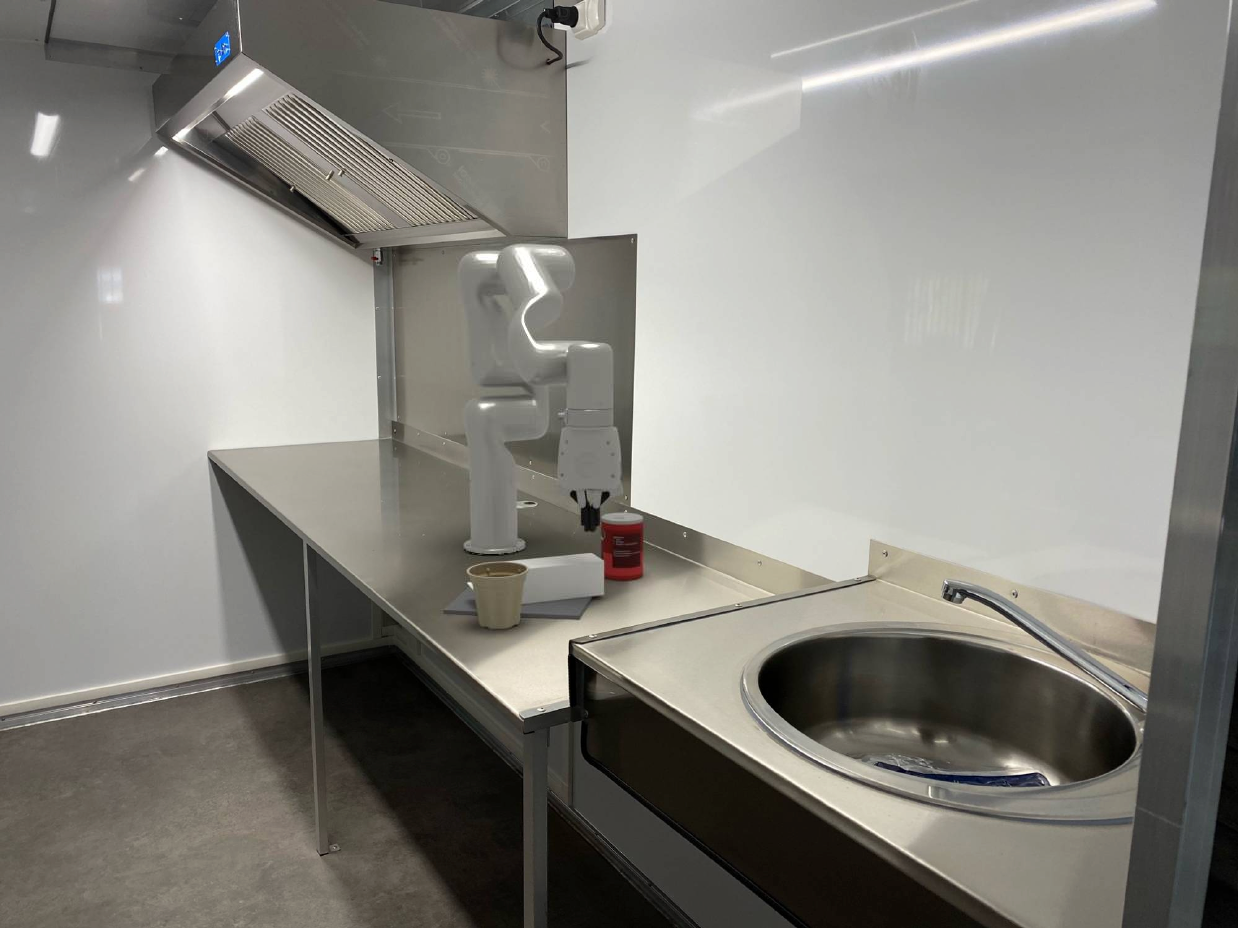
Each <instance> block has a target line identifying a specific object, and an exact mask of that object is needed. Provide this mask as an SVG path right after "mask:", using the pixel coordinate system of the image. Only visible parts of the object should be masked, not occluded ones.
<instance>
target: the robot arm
mask: <svg viewBox="0 0 1238 928" xmlns="http://www.w3.org/2000/svg"><path fill="white" fill-rule="evenodd" d="M459 261H460V262H459V264H458V269H457V277H456V281H457V287H458V293H459V297H460V300H461V303H462V307H463V309H464V313H465V319H466V326H467V328H466V329H467V330H466V331H467V352H468V353H467V355H468V356H467V357H468V370H469V377H470V380H471V381H472V383H473V385H475V387H479V388H485V389H504V388H505V389H506V388H507V389H508V388H509V389H510V388H519V390H520V393H517V394H507V393H506V394H504V393H503V394H486V395H485V394H484V395H480V396H475V397H473V398H471V399H469V400H468V401H467V402H466V404H465V406H464V408H463V411H462V417H463V418H462V420H463V426H464V431H465V432H464V433H465V436H466V437H465V438H466V444H467V451H468V452H467V453H468V468H469V469H468V471H469V472H468V474H469V505H470V506H469V507H470V508H469V509H470V539H468V540H467V541H464V543H463V549H464V548H465V549H466V550H469V551H474V552H476V553H484V554H499V555H505V554H504V553H508V554H512V553H513V552H514V553H517V552H516V551H518V552H520V551H522V550H524V549H526V542H525V540H523V539H522V538H518V493H517V492H518V490H517V489H518V488H517V486H518V484H517V480H518V479H517V465H516V461H515V460H516V459H515V458H514V455H512V454H511V452H510V451H509V449H508V448H507V447H506V446H505V443H508V442H514V441H517V442H519V441H529V440H530V441H531V440H537V439H538V440H539V439H540V438H543V437H544V436H545V434H546V433H547V431H548V427H549V423H550V405H549V404H550V400H549V398H550V397H549V387H563V386H565V387H566V408H565V410H563V411H559V412H557V420H558V421H562V422H564V423H565V425H566V426H564V427H562V428H561V432H560V437H559V445H558V455H557V456H558V457H557V485H558V487H557V494H559V495H561V496H566V497H570V498H572V500H573V501H574V502H575V503H576V504H577V506H578V507H579V508H580V525H581V527H583V529H584V530H583V532H584V533H588V532H590V533H594V532H595V531H596V530H597V529H598V527H601V506H602V505H603V504H604V503H605V502H606V501H607V500H608V499H611V498H615V497H620V496H622V495H623V493H624V488H623V484H622V479H623V467H622V466H623V465H622V453H621V451H622V450H621V443H620V442H621V441H620V436H619V435H620V434H619V432H618V431H619V430H618V427H617V426H614V351H613V349H612V346H611V345H609V344H608V343H604V342H591V341H589V340H588V341H587V340H536V339H534V338H533V336H532V334H533V333H536V332H537V331H539V330H542V329H544V328H546V327H547V326H549V325H551V324H553V323H554V322H555V321H556V320H557V319H558V317H560V315H561V313H562V312H563V309H564V299H563V298H564V297H563V295H562V294H561V293H563V292H566V291H567V290H569V289H570V288H571V287H572V285H573V283H574V281H575V277H576V264H575V261H574V258H573V256H572V254H571V253H570V252H569V250H567V248H565V247H563V246H560V245H554V244H538V243H515V244H511V245H508V246H506V247H504V248H503V249H502V250H477V251H472V252H469V253H467V254H465V255H464V256H463V257H462V258H461V259H460V260H459ZM496 296H508V298H509V300H510V303H511V304H512V306H513V308H514V310H515V312H514V314H513V316H512V317H511V319H510V316H509V313H508V311H507V310H506V308H505V307H504V305H503V304H502V303H501V302H500V300H499V299H498V298H497V297H496ZM588 491H594V492H593V493H594V494H593V499H592V503H590V501H589V496H588ZM595 533H596V532H595ZM502 553H503V554H502ZM514 553H513V554H514Z"/></svg>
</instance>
